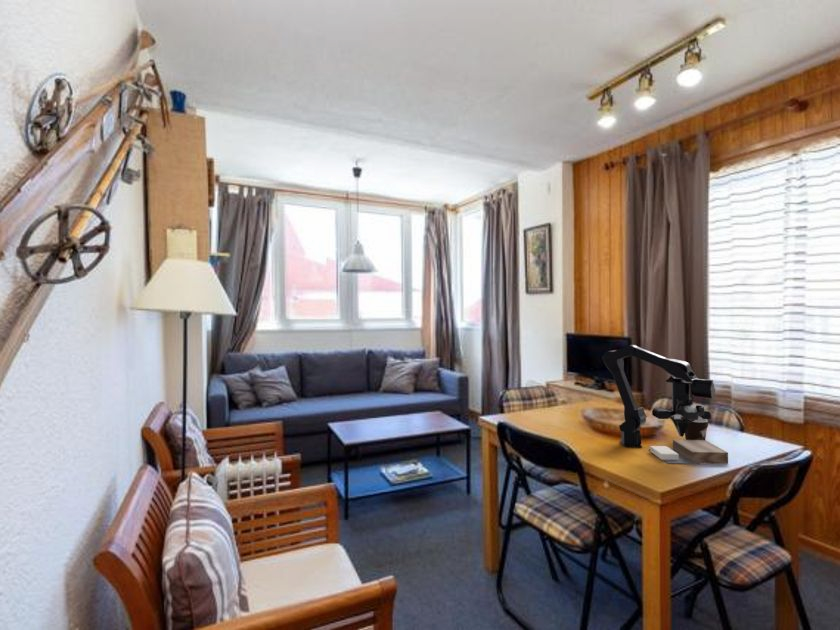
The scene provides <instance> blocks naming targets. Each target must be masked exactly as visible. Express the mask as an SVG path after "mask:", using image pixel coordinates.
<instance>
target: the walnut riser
mask: <svg viewBox="0 0 840 630" xmlns="http://www.w3.org/2000/svg"><path fill="white" fill-rule="evenodd" d="M672 449H674V450H675V451H677V452H678V453H680V454H681V455H683V456H684V457H686V458H687V459H689V460H690V461H692V462H699V463H700V464H721V465H723V464H726V465H728V464H729V452H728V451H727V450H724V449H723V448H720V447H718V446H717V445H715V444H713V443H711V442H709V441H708V440H706V439H705V440H686V439H672Z"/></svg>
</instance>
